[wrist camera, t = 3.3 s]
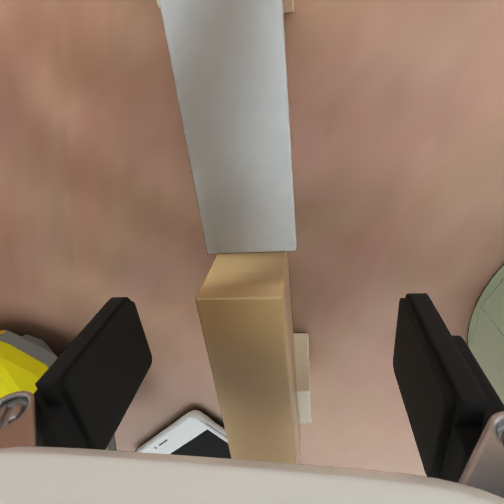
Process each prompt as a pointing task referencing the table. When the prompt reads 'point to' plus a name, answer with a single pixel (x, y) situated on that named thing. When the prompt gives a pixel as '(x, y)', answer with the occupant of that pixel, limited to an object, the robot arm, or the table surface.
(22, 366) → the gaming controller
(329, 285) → the table surface
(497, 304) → the pot
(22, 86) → the table surface
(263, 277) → the knife
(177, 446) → the smartphone
